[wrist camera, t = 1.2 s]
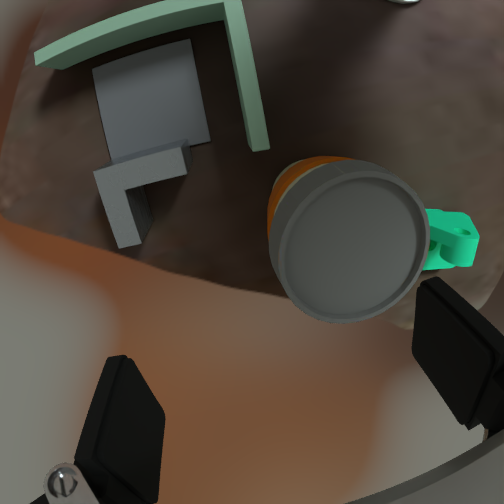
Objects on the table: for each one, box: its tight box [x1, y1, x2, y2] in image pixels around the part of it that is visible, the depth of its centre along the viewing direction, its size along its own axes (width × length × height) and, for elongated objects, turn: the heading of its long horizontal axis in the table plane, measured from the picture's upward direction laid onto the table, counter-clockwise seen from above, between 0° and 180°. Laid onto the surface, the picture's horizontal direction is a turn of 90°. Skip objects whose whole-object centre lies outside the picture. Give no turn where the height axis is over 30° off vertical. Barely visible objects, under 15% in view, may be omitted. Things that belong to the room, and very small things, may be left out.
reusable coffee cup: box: [267, 156, 430, 324], centre depth 29 cm, size 13×12×15 cm
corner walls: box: [34, 0, 270, 152], centre depth 26 cm, size 16×20×6 cm
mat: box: [92, 39, 211, 160], centre depth 29 cm, size 12×11×1 cm
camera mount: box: [422, 209, 480, 270], centre depth 34 cm, size 12×8×10 cm, turn 90°
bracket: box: [93, 139, 193, 249], centre depth 30 cm, size 8×8×6 cm
